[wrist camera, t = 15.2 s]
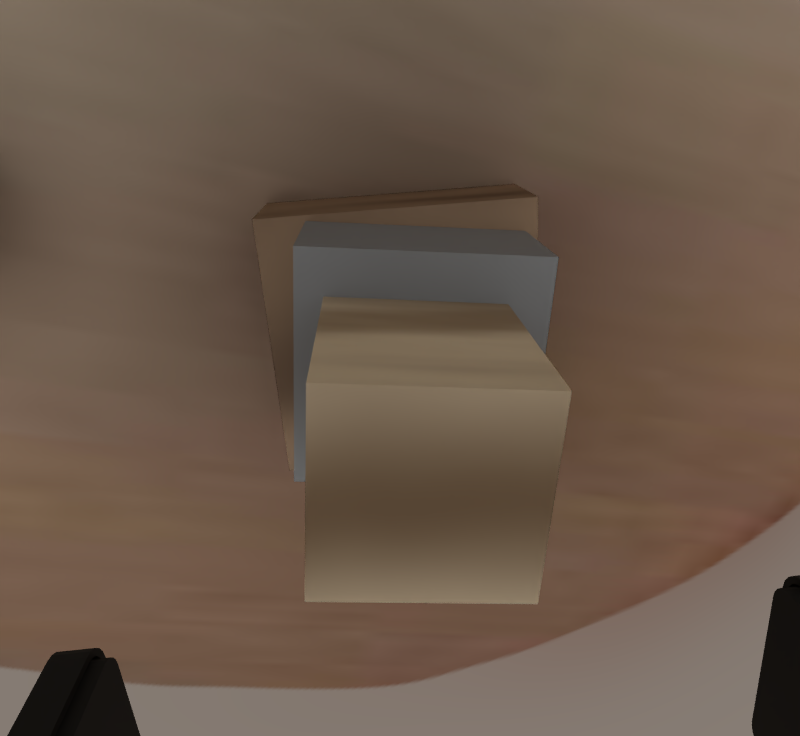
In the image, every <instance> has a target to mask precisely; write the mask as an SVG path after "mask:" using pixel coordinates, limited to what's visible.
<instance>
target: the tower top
mask: <svg viewBox="0 0 800 736" xmlns="http://www.w3.org/2000/svg"><path fill="white" fill-rule="evenodd" d="M558 259H559V257H558V256H557V255H555V254H554V253H553V252H551V251H550V250H549V249H548V248H546V247H545V246H544V245H543V244H541V243H540V242H539V241H538V240H536V239H535V238H534V237H532V236H531V235H530V234H529V233H527V232H526V231H518V230H496V229H473V228H451V227H429V226H407V225H384V224H362V223H340V222H318V221H305V223H304V225H303V227H302V229H301V231H300V233H299V235H298V237H297V239H296V241H295V243H294V245H293V338H294V481H301V482H305V466H306V381H307V376H308V371H309V366H310V361H311V356H312V351H313V346H314V341H315V336H316V331H317V326H318V321H319V316H320V311H321V306H322V301H323V297H346V298H370V299H395V300H419V301H443V302H468V303H492V304H509V306H510V307H511V308H512V310H513V311H514V313H515V314H516V315H517V317H518V318H519V319H520V321H521V322H522V324H523V325H524V326H525V328H526V329H527V330H528V332H529V333H530V335H531V336H532V337H533V339H534V340H535V341H536V343H537V344H538V346H539V347H540V348H541V350H542V351H543V352H544V354H545V352H546V345H547V338H548V331H549V323H550V316H551V309H552V302H553V295H554V287H555V280H556V273H557V266H558Z"/></svg>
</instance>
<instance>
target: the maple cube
mask: <svg viewBox="0 0 800 736" xmlns="http://www.w3.org/2000/svg"><path fill="white" fill-rule="evenodd" d="M571 394H572V391H571V389H570V388H569V387H568V385H567V384H566V383H565V381H564V380H563V378H562V377H561V376H560V374H559V373H558V372H557V370H556V369H555V367H554V366H553V365H552V363H551V362H550V361H549V359H548V358H547V356H546V355H545V354H544V352H543V351H542V350H541V348H540V347H539V346H538V344H537V343H536V341H535V340H534V339H533V337H532V336H531V335H530V333H529V332H528V330H527V329H526V328H525V326H524V325H523V324H522V322H521V321H520V319H519V318H518V317H517V315H516V314H515V313H514V311H513V310H512V308H511V307H510V306H509V304H492V303H468V302H443V301H419V300H395V299H370V298H346V297H323V301H322V306H321V311H320V316H319V321H318V326H317V331H316V336H315V341H314V346H313V351H312V356H311V361H310V366H309V371H308V376H307V381H306V466H305V602H377V603H480V604H538V599H539V593H540V587H541V580H542V574H543V568H544V562H545V556H546V549H547V543H548V537H549V531H550V524H551V518H552V512H553V506H554V500H555V493H556V487H557V481H558V475H559V468H560V462H561V456H562V450H563V443H564V437H565V431H566V425H567V419H568V412H569V406H570V400H571Z"/></svg>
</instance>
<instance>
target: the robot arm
mask: <svg viewBox="0 0 800 736" xmlns="http://www.w3.org/2000/svg"><path fill="white" fill-rule="evenodd" d="M752 729H753V734H754V736H800V576H791V577H788V578H787V579H786V580H785V582H784V585H783V588H780V589H777V590H776V591H775V593H774V596H773V602H772V607H771V614H770V619H769V625H768V631H767V636H766V642H765V648H764V654H763V660H762V666H761V672H760V678H759V683H758V689H757V695H756V701H755V707H754V713H753V718H752ZM7 736H140V733H139V730H138V727H137V724H136V721H135V717H134V715H133V711H132V708H131V705H130V701H129V698H128V695H127V692H126V689H125V685H124V682H123V679H122V676H121V673H120V670H119V666H118V664H117V661H116V660H115V659H114V658H106V657H105V655H104V653H103V651H102V650H101V649H100V648H92V649H82V650H72V651H63V652H56V653H55V654H53V655H52V656H51V657H50V659H49V660H48V661H47V663H46V665H45V667H44V669H43V671H42V672H41V674H40V676H39V678H38V680H37V682H36V684H35V685H34V687H33V689H32V691H31V693H30V695H29V697H28V698H27V700H26V702H25V704H24V706H23V708H22V710H21V712H20V713H19V715H18V717H17V719H16V721H15V723H14V724H13V726H12V728H11V730H10V732H9V734H8V735H7Z"/></svg>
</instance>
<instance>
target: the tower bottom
mask: <svg viewBox="0 0 800 736" xmlns="http://www.w3.org/2000/svg"><path fill="white" fill-rule="evenodd" d="M305 221H318V222H340V223H362V224H384V225H407V226H429V227H451V228H473V229H496V230H518V231H526V232H527V233H529V234H530V235H531V236H532V237H534V238H535V239H536V240H538V197H537V196H536V195H534V194H532V193H530V192H528V191H526V190H525V189H523V188H521V187H519V186H517V185H515V184H507V185H494V186H481V187H468V188H456V189H443V190H430V191H418V192H405V193H392V194H380V195H367V196H354V197H341V198H329V199H316V200H303V201H291V202H278V203H267V204H266V205H265V206H264V207H263V208H262V209H261V210H260V212H259V213H258V214H257V215H256V216H255V217H254V218H253V219H252V223H253V229H254V236H255V243H256V249H257V256H258V263H259V269H260V276H261V283H262V289H263V296H264V303H265V310H266V316H267V323H268V330H269V336H270V343H271V350H272V356H273V363H274V370H275V376H276V383H277V390H278V396H279V403H280V410H281V417H282V423H283V430H284V437H285V443H286V450H287V457H288V463H289V470H290V471H291V470H294V338H293V245H294V243H295V241H296V239H297V237H298V235H299V233H300V231H301V229H302V227H303V225H304V223H305Z"/></svg>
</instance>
